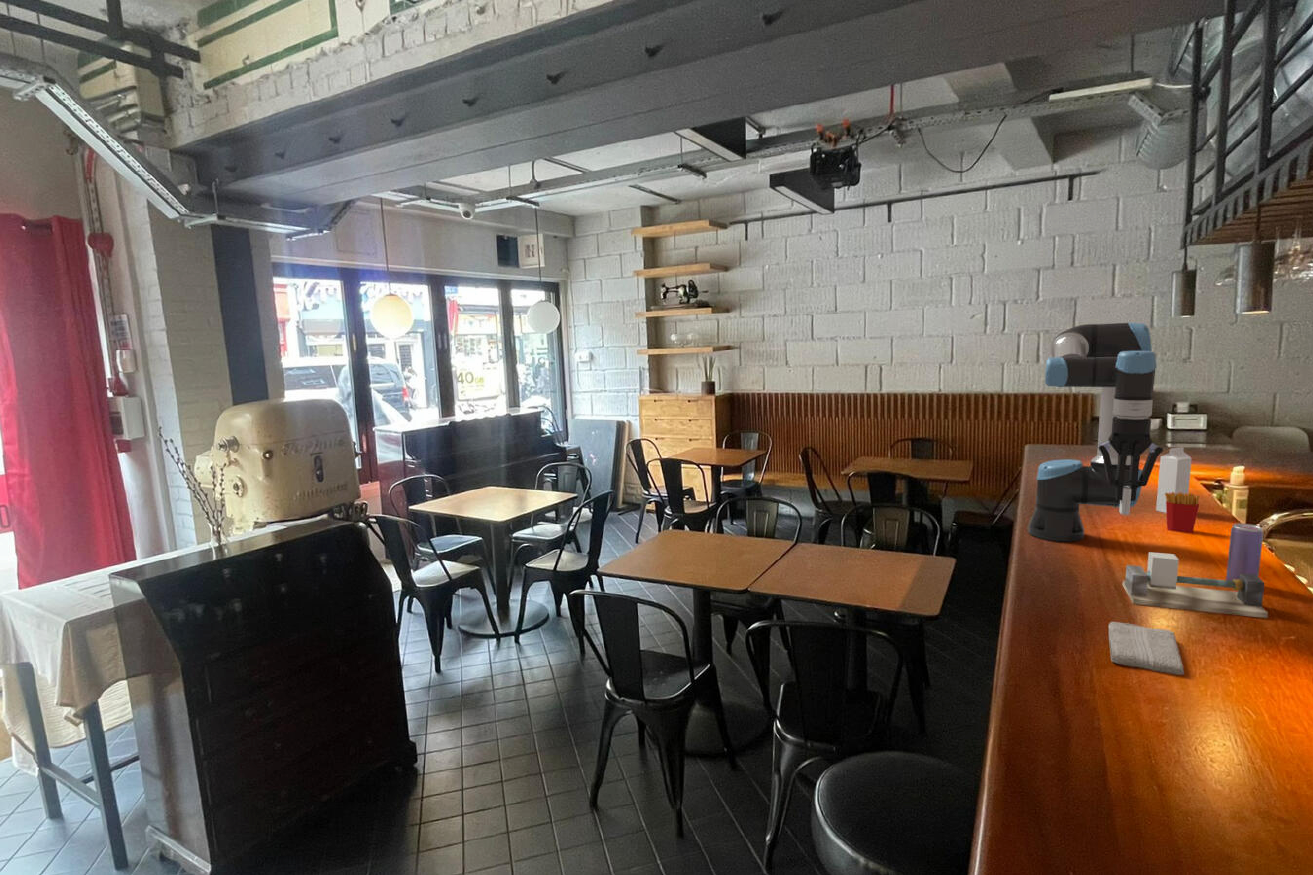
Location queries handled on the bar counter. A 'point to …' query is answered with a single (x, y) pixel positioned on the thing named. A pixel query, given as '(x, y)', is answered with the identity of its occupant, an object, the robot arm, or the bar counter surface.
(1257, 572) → the beverage can
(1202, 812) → the bar counter surface
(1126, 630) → the washcloth
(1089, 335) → the robot arm
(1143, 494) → the bar counter surface
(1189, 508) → the french fries
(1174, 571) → the light grey cube
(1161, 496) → the milk
